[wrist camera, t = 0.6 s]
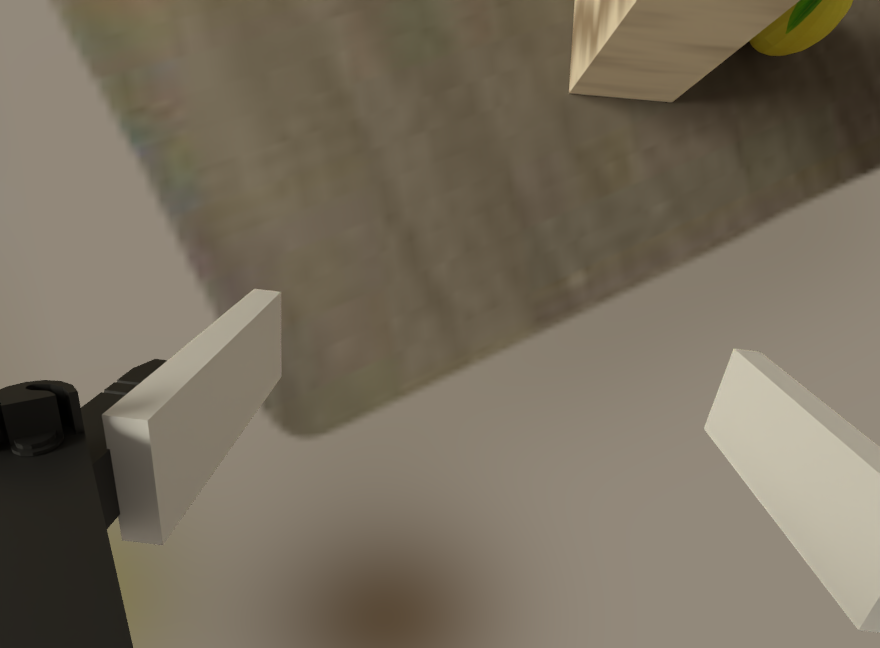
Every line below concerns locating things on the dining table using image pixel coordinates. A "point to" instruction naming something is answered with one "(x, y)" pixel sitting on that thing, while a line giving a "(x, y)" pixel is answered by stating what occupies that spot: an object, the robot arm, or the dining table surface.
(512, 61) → the dining table surface
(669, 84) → the stand
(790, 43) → the lemon
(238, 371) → the robot arm
